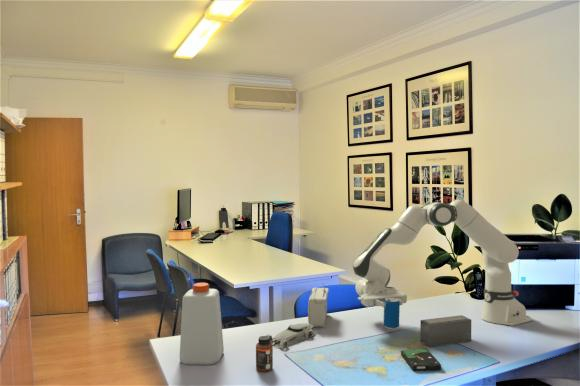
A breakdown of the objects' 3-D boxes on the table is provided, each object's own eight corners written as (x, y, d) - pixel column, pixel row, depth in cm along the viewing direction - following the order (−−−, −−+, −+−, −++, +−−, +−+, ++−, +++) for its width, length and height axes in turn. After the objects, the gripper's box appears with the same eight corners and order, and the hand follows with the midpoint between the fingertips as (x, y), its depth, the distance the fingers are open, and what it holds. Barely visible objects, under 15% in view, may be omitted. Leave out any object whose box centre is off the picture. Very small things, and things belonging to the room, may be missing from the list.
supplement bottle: (273, 372, 161) (272, 340, 160) (256, 372, 160) (255, 341, 160) (272, 364, 167) (272, 334, 166) (256, 365, 166) (255, 334, 165)
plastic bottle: (187, 349, 181) (186, 279, 180) (225, 349, 181) (224, 279, 180) (176, 365, 166) (175, 289, 165) (218, 366, 166) (217, 289, 164)
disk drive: (441, 372, 161) (426, 354, 176) (442, 364, 161) (426, 347, 176) (413, 373, 160) (399, 355, 175) (413, 365, 160) (400, 348, 175)
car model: (262, 344, 187) (261, 332, 187) (300, 328, 205) (300, 317, 205) (282, 351, 180) (281, 338, 180) (320, 334, 198) (320, 323, 198)
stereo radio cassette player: (312, 313, 226) (311, 273, 225) (328, 314, 225) (328, 273, 224) (307, 327, 206) (307, 283, 205) (326, 328, 204) (326, 284, 203)
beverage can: (381, 324, 197) (382, 297, 196) (396, 324, 198) (396, 296, 197) (386, 330, 191) (386, 301, 190) (401, 329, 191) (402, 301, 190)
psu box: (461, 336, 194) (461, 314, 194) (471, 341, 188) (471, 319, 188) (419, 341, 188) (420, 319, 188) (428, 347, 182) (429, 324, 182)
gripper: (356, 290, 203) (370, 298, 189) (397, 286, 209) (413, 294, 195) (355, 304, 203) (370, 313, 190) (396, 300, 209) (413, 309, 196)
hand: (392, 304), depth 193 cm, fingers closed on beverage can, 6 cm apart
